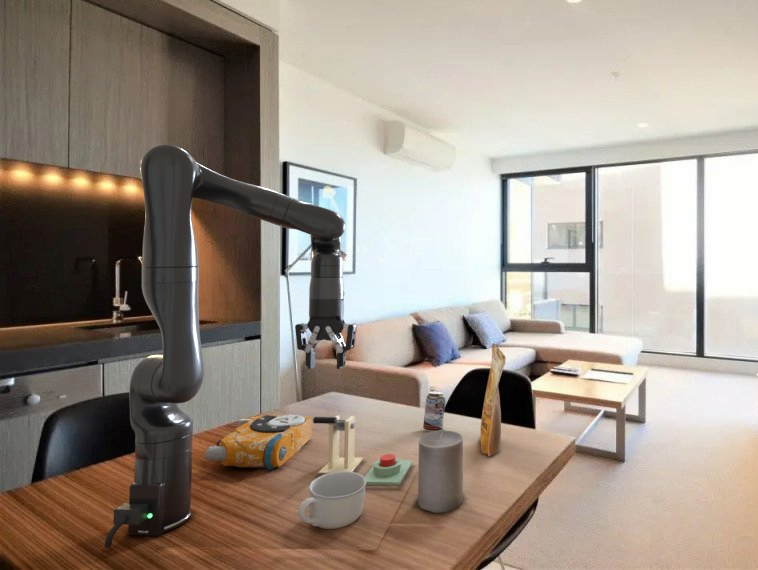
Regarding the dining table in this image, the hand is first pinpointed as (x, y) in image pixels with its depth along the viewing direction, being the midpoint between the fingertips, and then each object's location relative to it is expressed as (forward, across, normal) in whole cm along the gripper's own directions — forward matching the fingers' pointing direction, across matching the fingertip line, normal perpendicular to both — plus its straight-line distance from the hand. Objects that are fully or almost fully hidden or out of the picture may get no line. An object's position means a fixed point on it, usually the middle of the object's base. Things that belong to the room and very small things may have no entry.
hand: (325, 368), depth 106 cm
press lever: (+16, 0, +5) cm, 16 cm away
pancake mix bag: (+28, +37, +27) cm, 54 cm away
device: (+28, -26, +20) cm, 43 cm away
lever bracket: (+28, 0, +10) cm, 29 cm away
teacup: (+28, +8, -15) cm, 33 cm away
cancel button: (+25, +13, +6) cm, 28 cm away
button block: (+28, +13, +6) cm, 31 cm away
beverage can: (+28, +18, +38) cm, 50 cm away
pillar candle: (+28, +28, -5) cm, 40 cm away
